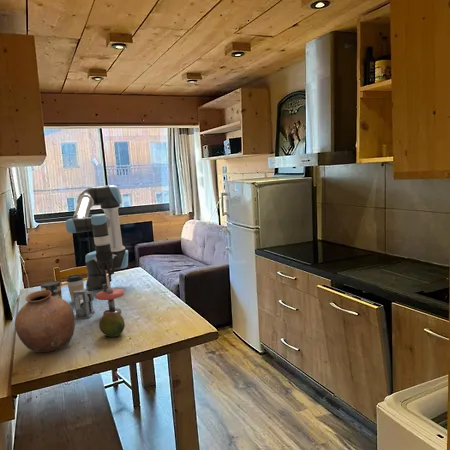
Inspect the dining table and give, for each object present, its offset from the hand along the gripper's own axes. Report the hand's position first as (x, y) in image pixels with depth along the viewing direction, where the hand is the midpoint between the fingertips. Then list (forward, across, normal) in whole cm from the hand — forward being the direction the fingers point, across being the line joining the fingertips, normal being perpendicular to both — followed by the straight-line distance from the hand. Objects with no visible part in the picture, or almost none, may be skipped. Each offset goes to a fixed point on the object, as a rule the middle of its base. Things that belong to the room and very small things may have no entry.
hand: (109, 287), depth 214 cm
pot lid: (+3, 0, -5) cm, 6 cm away
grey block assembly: (+12, -14, +1) cm, 18 cm away
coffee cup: (+12, -18, +30) cm, 37 cm away
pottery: (+12, -28, -37) cm, 48 cm away
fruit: (+12, -1, -36) cm, 38 cm away
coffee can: (+12, -30, +23) cm, 40 cm away
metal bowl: (+12, 0, -5) cm, 13 cm away
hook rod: (+8, -13, +3) cm, 16 cm away
